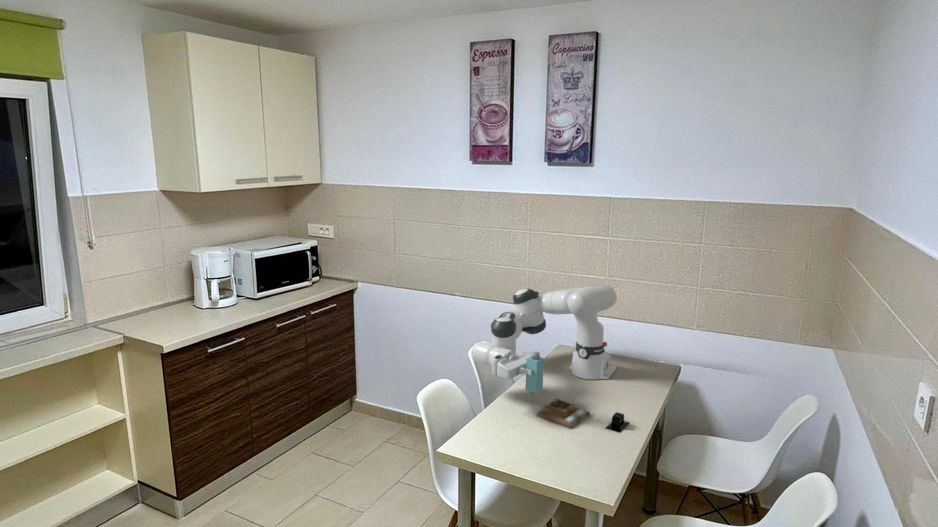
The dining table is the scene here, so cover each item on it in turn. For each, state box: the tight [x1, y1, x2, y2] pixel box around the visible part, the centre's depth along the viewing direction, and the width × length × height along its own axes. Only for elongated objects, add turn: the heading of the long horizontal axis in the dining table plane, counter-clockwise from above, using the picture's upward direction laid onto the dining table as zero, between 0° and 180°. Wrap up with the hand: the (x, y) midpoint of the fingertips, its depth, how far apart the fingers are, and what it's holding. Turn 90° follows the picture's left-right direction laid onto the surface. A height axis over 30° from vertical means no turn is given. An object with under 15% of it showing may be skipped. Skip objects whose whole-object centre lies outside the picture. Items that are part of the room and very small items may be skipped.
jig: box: [536, 398, 591, 430], centre depth 199 cm, size 14×14×4 cm
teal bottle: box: [525, 351, 545, 394], centre depth 198 cm, size 4×4×14 cm
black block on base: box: [605, 411, 631, 434], centre depth 192 cm, size 12×7×5 cm, turn 143°
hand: (536, 370), depth 197 cm, fingers closed on teal bottle, 4 cm apart
